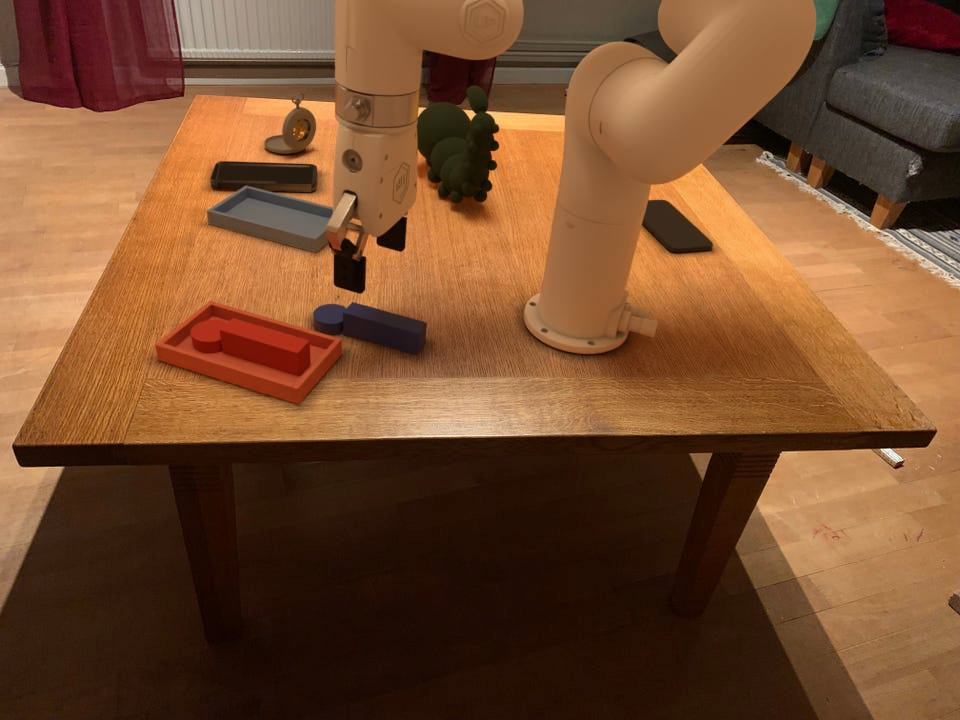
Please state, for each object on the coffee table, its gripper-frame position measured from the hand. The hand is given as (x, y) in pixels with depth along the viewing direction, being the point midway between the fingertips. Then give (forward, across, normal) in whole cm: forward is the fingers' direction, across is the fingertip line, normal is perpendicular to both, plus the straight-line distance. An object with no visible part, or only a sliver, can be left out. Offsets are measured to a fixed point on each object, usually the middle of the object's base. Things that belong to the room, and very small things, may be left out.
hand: (370, 267), depth 77 cm
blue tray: (+9, +18, +22) cm, 30 cm away
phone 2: (+8, +46, -28) cm, 54 cm away
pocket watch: (+9, +42, +34) cm, 55 cm away
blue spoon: (+9, 0, 0) cm, 9 cm away
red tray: (+9, -8, +9) cm, 16 cm away
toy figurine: (+9, +42, +6) cm, 44 cm away
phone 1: (+9, +30, +31) cm, 44 cm away
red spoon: (+9, -9, +10) cm, 16 cm away
